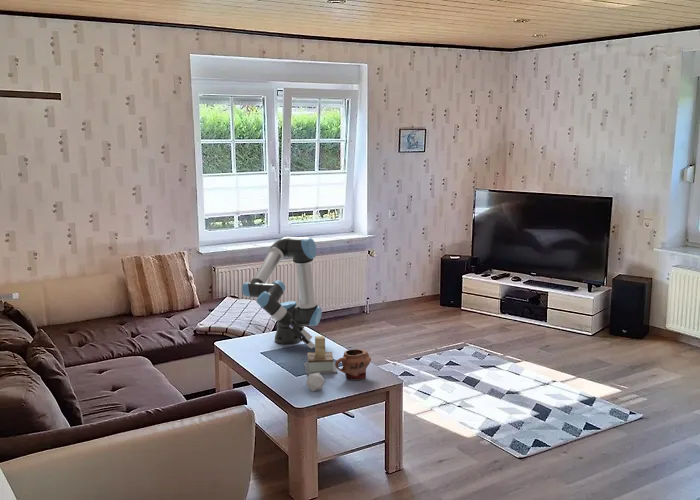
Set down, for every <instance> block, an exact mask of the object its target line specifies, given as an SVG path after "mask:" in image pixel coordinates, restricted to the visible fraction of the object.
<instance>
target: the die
mask: <svg viewBox="0 0 700 500" xmlns="http://www.w3.org/2000/svg"><path fill="white" fill-rule="evenodd" d="M325 383H326V380H325V378H324V377H323V375H322V374H320V373H314V374H309V375H307V379H306V381H305V385H306V386H307V387H308V388H309V390H310V391H311V392H317V391H322V390H323V387H324V385H325Z"/></svg>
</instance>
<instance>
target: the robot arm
mask: <svg viewBox="0 0 700 500" xmlns="http://www.w3.org/2000/svg"><path fill="white" fill-rule="evenodd" d="M316 255H317V245H316V242H315V240H314V239H313V238H311V237H306V236H303V237H302V236H299V237H298V236H283V237H281V238H280V239H278V240H276V241H275V242H274V243H273V244H272V245H271V246H270V247H269V249H268V251H267V255H266V256H265V258H264V260H263V262H262V263H261V265H260V266H259V268H258V269H257V271H256V272H255V274H254V276H253V277H252V278H251V280H250V281H248V282H247V281H246V282H244V283H243V284H242V286H241V292H242V295H243V296H245V297H249V298H256V304H257V305H259V307H260V308H261V309H263V310H264V311H265V312H266V313H268V314H269V315H270V316H271V319H275V321H276V323H277V326H276V332H275V334H274V335H275V336H274V342H275V343H276V344H277V343H278V344H279V345H280V344H282V345H290V344H291V345H292V344H296V343H299V342H302V343H304V344H305V345H307V347H308V348H310V349H313V348H315V343H314V342H312V341H311V340H312V339H313V336H312V335H311V334H310V333H309V332H308V331H307V330H306V329H305V327H304V326H309V327H317V326H318V325H319V324H320V321H321V318H322V312H323V311H322V307H321V306H319V305H318V302H317V301H316V300H315V292H314V280H313V269H312V263H313V261H314V259H315V257H316ZM285 258H292V262H293V263H294V264H295V268H296V276H297V289H298V298H299V301H298V302H297V301H294V300H293V301H291V300H289V301H284V302H281V303H280V302H279V301H280V299H281V297H282V296H283V295H284V292H285V290H286V284H285V283H284V282H283V281H281V280H279V279H276V280H274V281H273V282H272V283H268V281H269V280H270V278H271V276H272V275H273V273H274V271H275V270H276V268H277V267H278V265H279V263H280V262H281V261H283V260H284V259H285Z"/></svg>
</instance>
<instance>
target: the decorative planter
mask: <svg viewBox="0 0 700 500" xmlns="http://www.w3.org/2000/svg"><path fill="white" fill-rule="evenodd" d="M371 360H372V358H371V356H370V355H369V352H368V351H366V350H365V349H357V348H356V349H348V350H346V351H344V353H343V356H342V357H340V358H338V359H337V360H336V361H335V366H336V369H337V371H340V372H341V373H343V374H345V378H346V379H347V380H351V381H360V380H363V379H365V378H366V377H367V368H368V366H369V365H370V363H371V362H372V361H371ZM340 363H341V364H342V368H340V367H339V364H340Z"/></svg>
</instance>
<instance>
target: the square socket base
mask: <svg viewBox="0 0 700 500" xmlns="http://www.w3.org/2000/svg"><path fill="white" fill-rule="evenodd" d="M335 364H336V362H335V361H334V362H311V363H308V362H304V363H303V365H304V366H303V367H304V370H305V375H306V376H309V374H314V373H320V374H321V375H330V374H331V375H333V374H334V375H335V374H338V369H337V368H336V365H335Z"/></svg>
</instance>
